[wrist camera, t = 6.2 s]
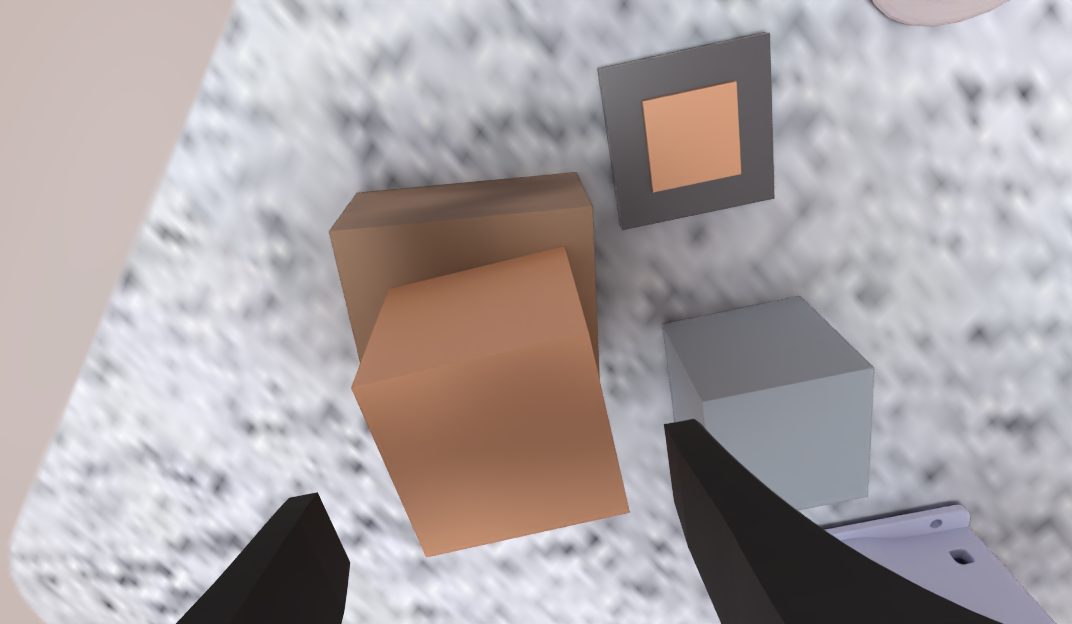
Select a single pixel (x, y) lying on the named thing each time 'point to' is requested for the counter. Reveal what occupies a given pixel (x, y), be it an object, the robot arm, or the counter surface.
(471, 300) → the terracotta block
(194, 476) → the counter surface
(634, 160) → the card
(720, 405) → the slate block
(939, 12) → the pacifier
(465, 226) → the walnut block
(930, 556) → the robot arm
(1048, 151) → the counter surface
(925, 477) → the counter surface
